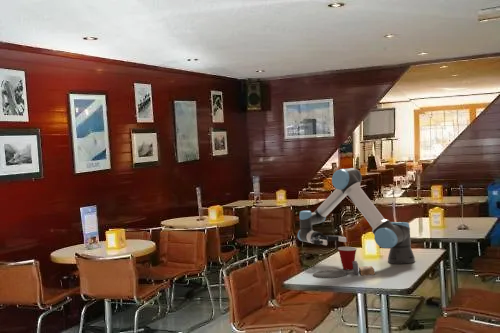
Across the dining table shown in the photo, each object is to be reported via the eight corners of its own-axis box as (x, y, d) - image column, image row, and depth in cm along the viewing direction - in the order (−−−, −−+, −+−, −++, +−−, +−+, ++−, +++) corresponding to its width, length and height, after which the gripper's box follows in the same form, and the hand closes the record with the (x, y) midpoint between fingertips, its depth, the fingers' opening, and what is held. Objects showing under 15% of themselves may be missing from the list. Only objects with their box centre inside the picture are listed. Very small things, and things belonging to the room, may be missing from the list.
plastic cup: (358, 270, 309) (356, 248, 309) (338, 271, 311) (337, 249, 311) (358, 266, 320) (357, 245, 320) (339, 267, 322) (338, 246, 322)
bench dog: (357, 271, 306) (356, 260, 306) (358, 274, 298) (357, 263, 298) (353, 271, 306) (352, 261, 306) (353, 275, 298) (353, 263, 298)
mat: (345, 270, 312) (345, 269, 312) (347, 277, 294) (347, 276, 294) (313, 271, 314) (313, 270, 314) (312, 278, 296) (312, 277, 296)
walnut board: (372, 271, 306) (371, 266, 306) (374, 275, 296) (374, 269, 296) (359, 272, 307) (358, 266, 307) (361, 276, 297) (361, 270, 297)
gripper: (297, 233, 337) (318, 237, 318) (331, 229, 349) (353, 232, 330) (298, 246, 337) (318, 250, 318) (332, 241, 349) (353, 245, 330)
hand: (336, 241), depth 324 cm, fingers open, 13 cm apart
